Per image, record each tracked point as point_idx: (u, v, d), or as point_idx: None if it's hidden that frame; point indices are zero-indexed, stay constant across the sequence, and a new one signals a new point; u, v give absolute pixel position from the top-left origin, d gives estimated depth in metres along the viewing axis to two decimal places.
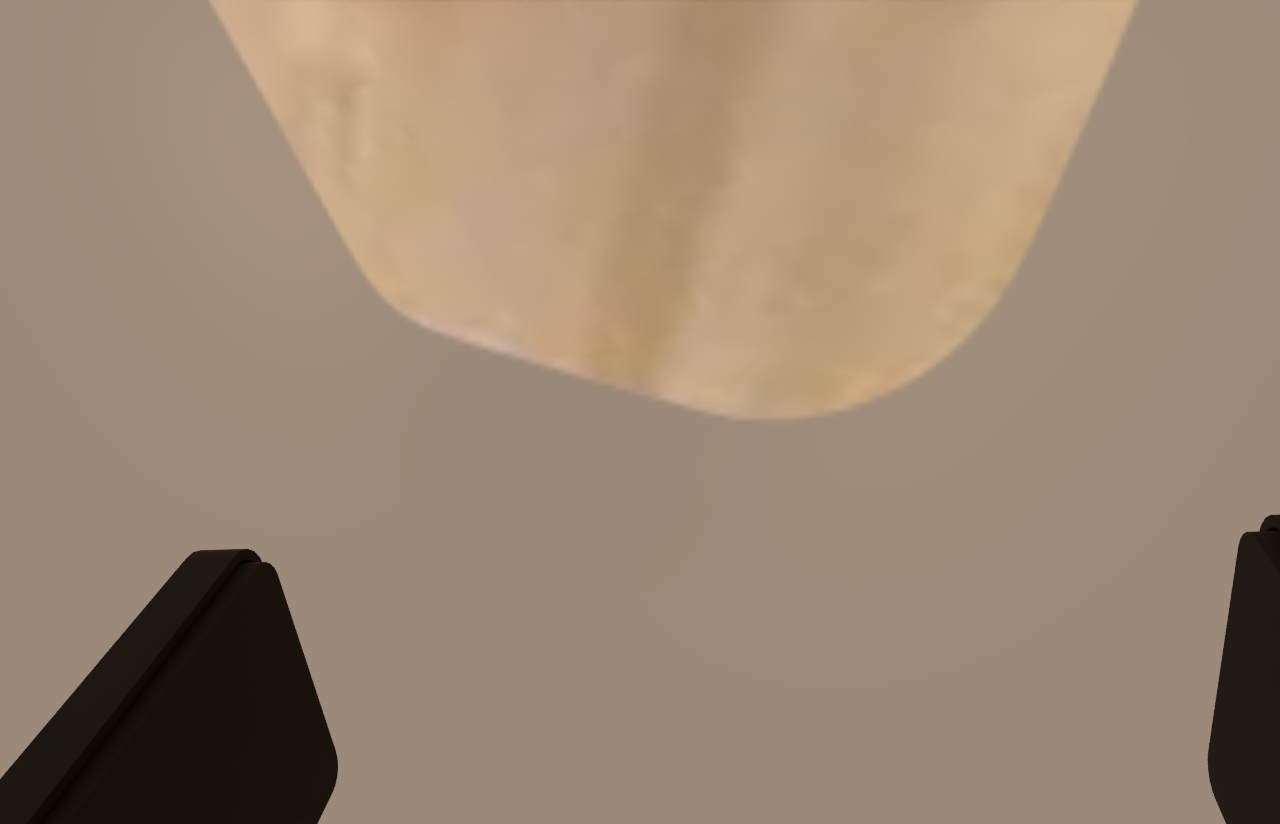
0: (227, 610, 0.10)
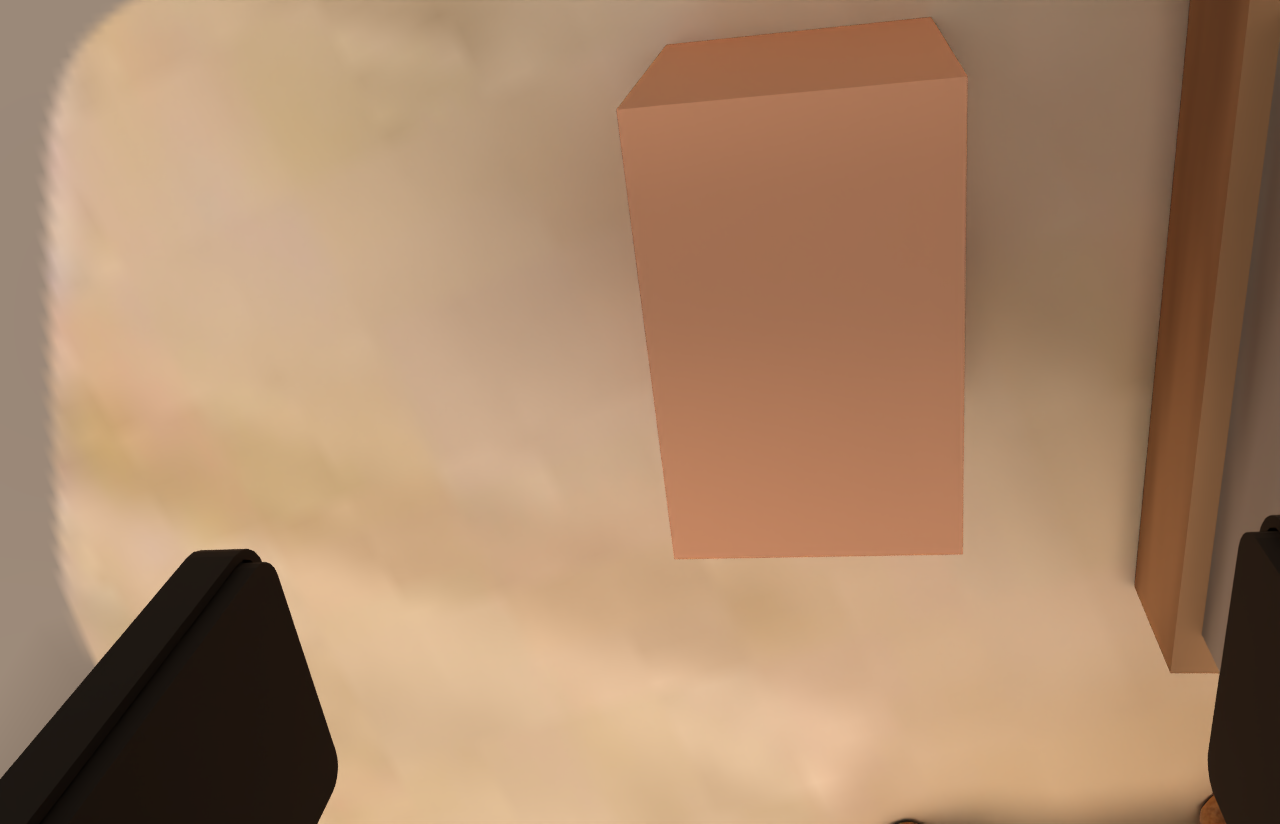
0: (227, 611, 0.10)
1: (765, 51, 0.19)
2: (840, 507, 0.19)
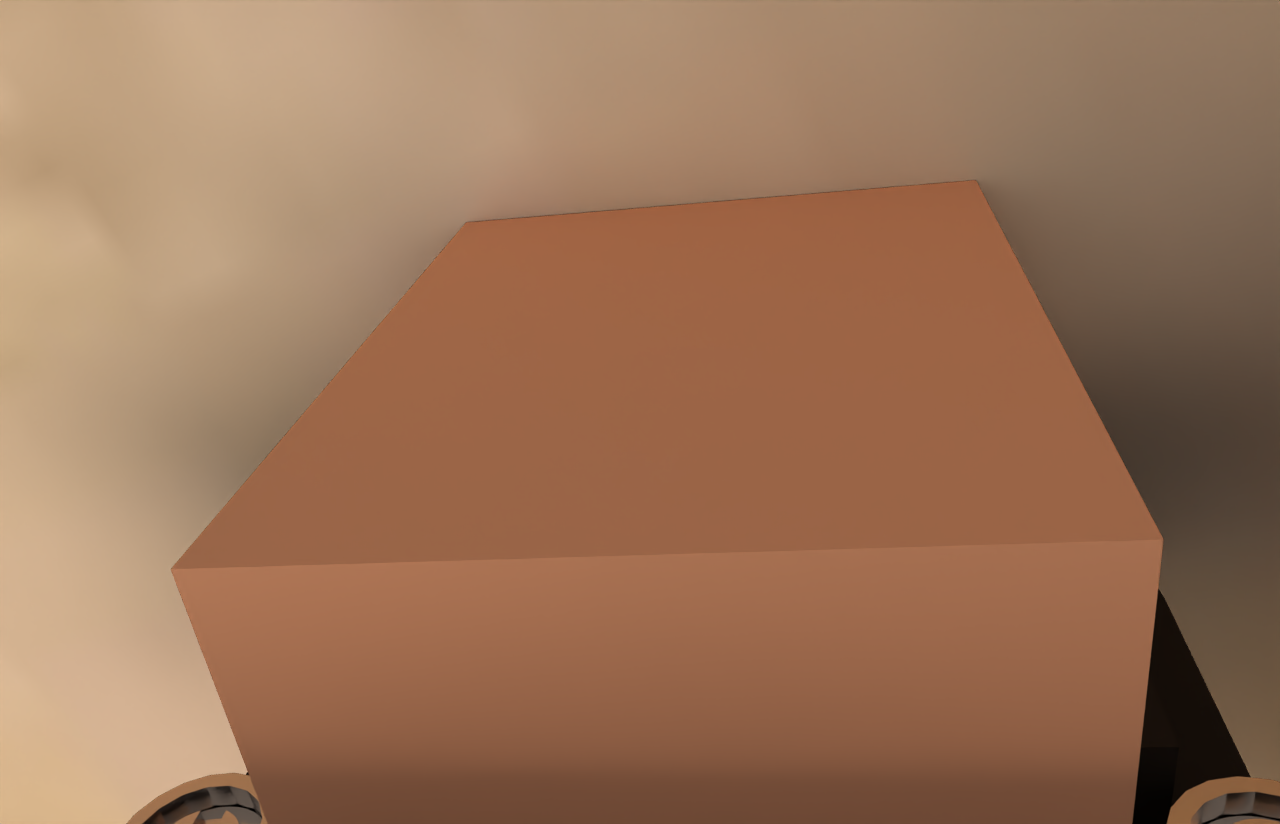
0: None
1: (634, 281, 0.09)
2: None
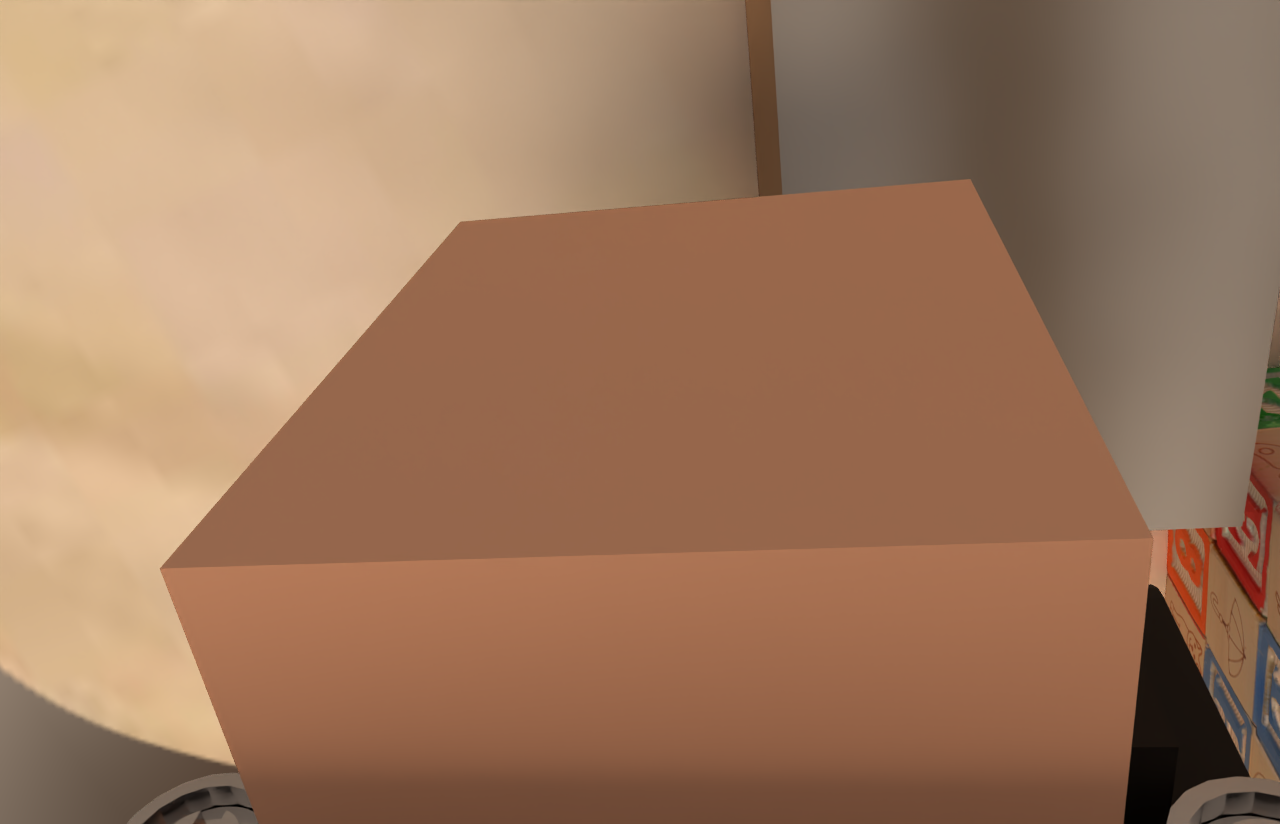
0: None
1: (628, 280, 0.09)
2: None
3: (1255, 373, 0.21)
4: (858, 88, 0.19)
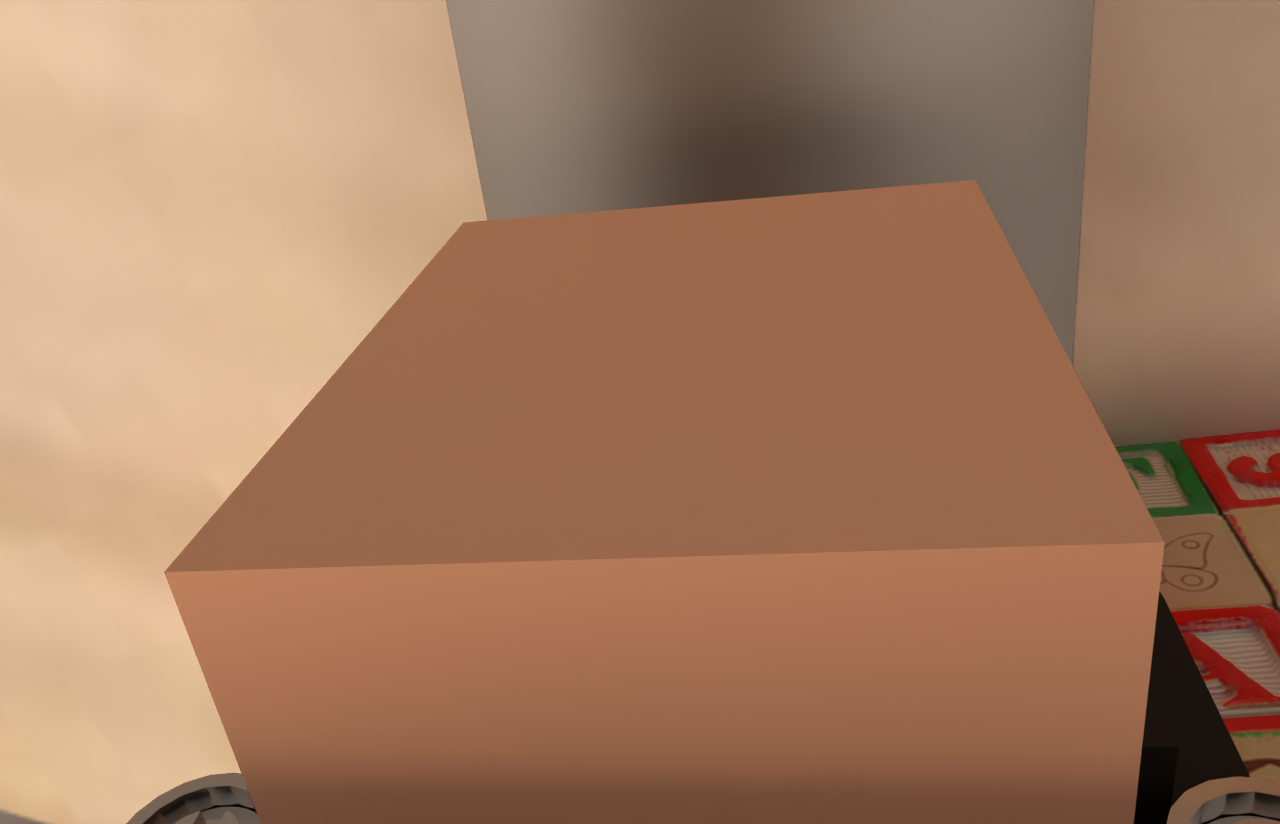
0: None
1: (632, 282, 0.09)
2: None
3: None
4: (562, 129, 0.17)
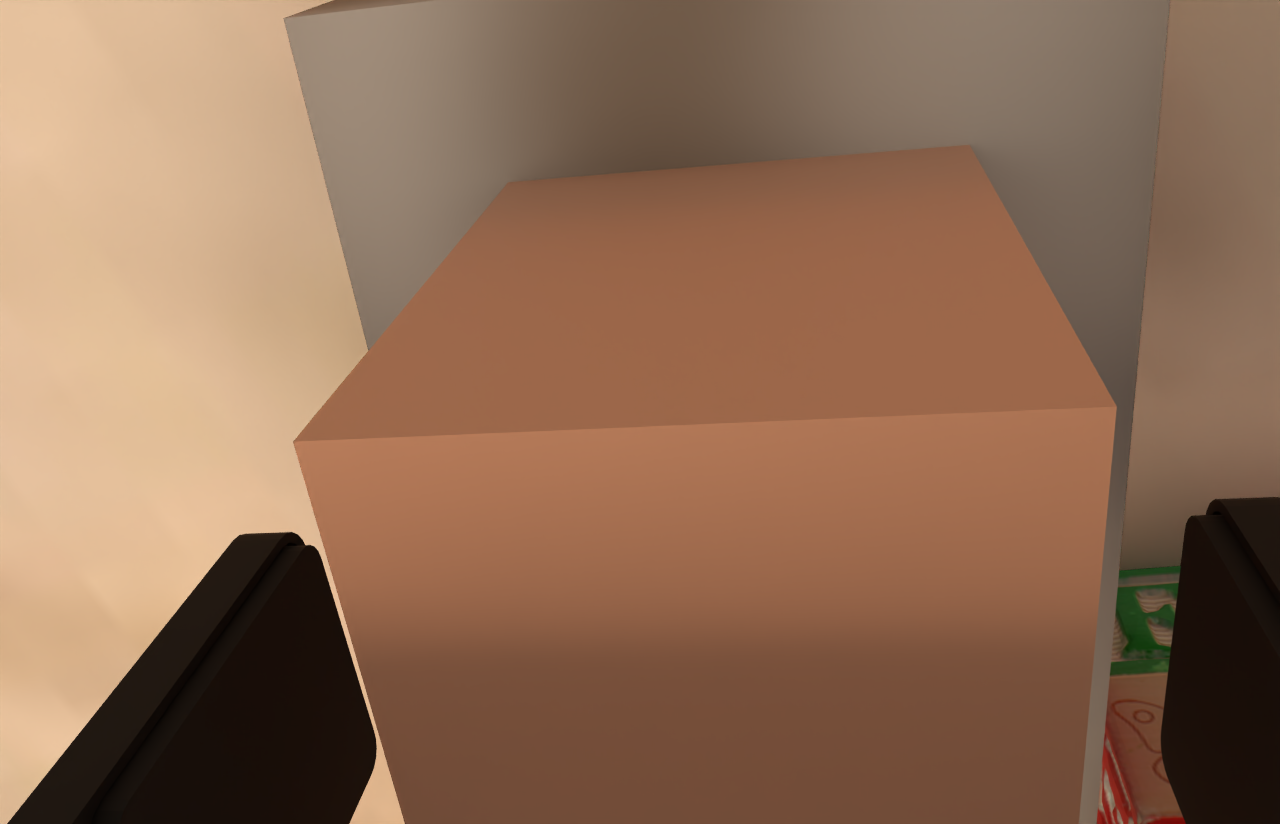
0: (275, 592, 0.10)
1: (666, 227, 0.10)
2: None
3: (1097, 631, 0.14)
4: (454, 216, 0.13)
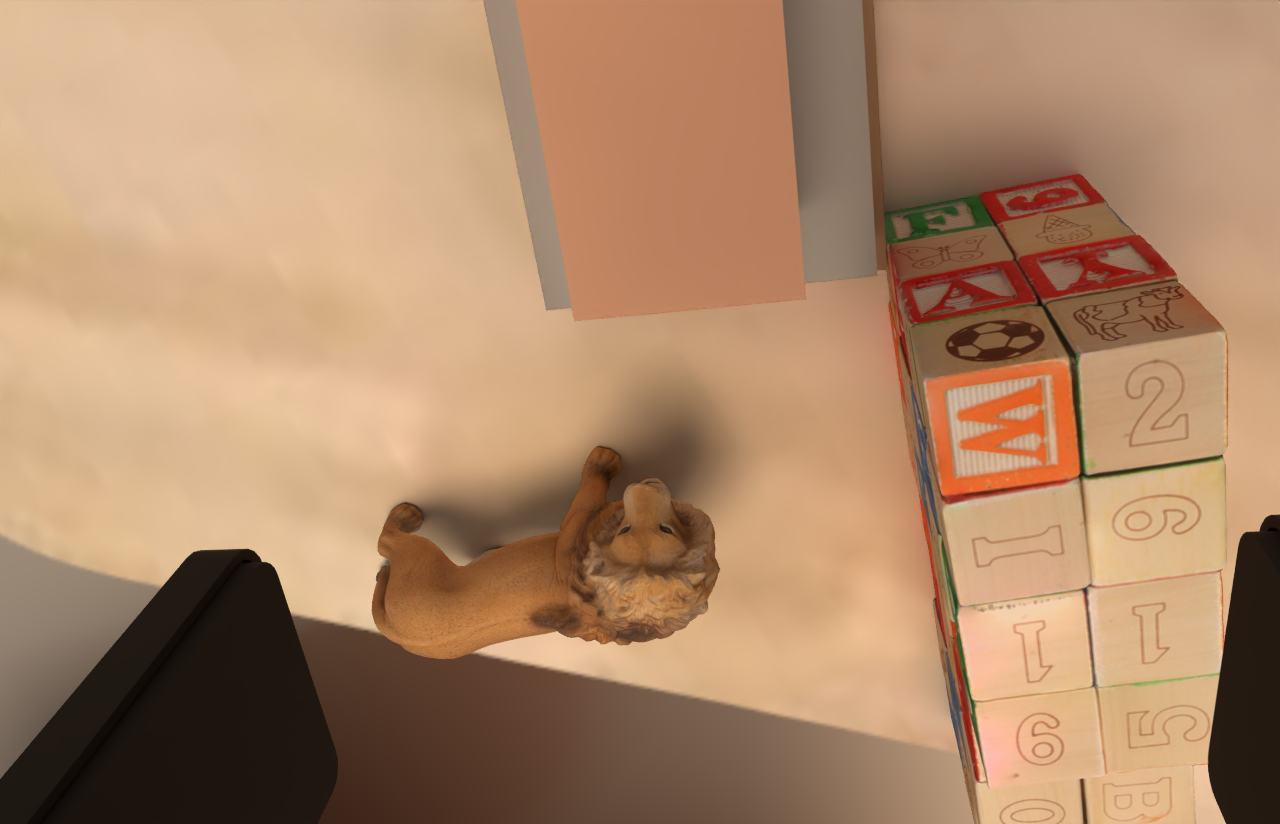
0: (227, 610, 0.10)
1: None
2: (704, 263, 0.23)
3: (861, 143, 0.27)
4: None
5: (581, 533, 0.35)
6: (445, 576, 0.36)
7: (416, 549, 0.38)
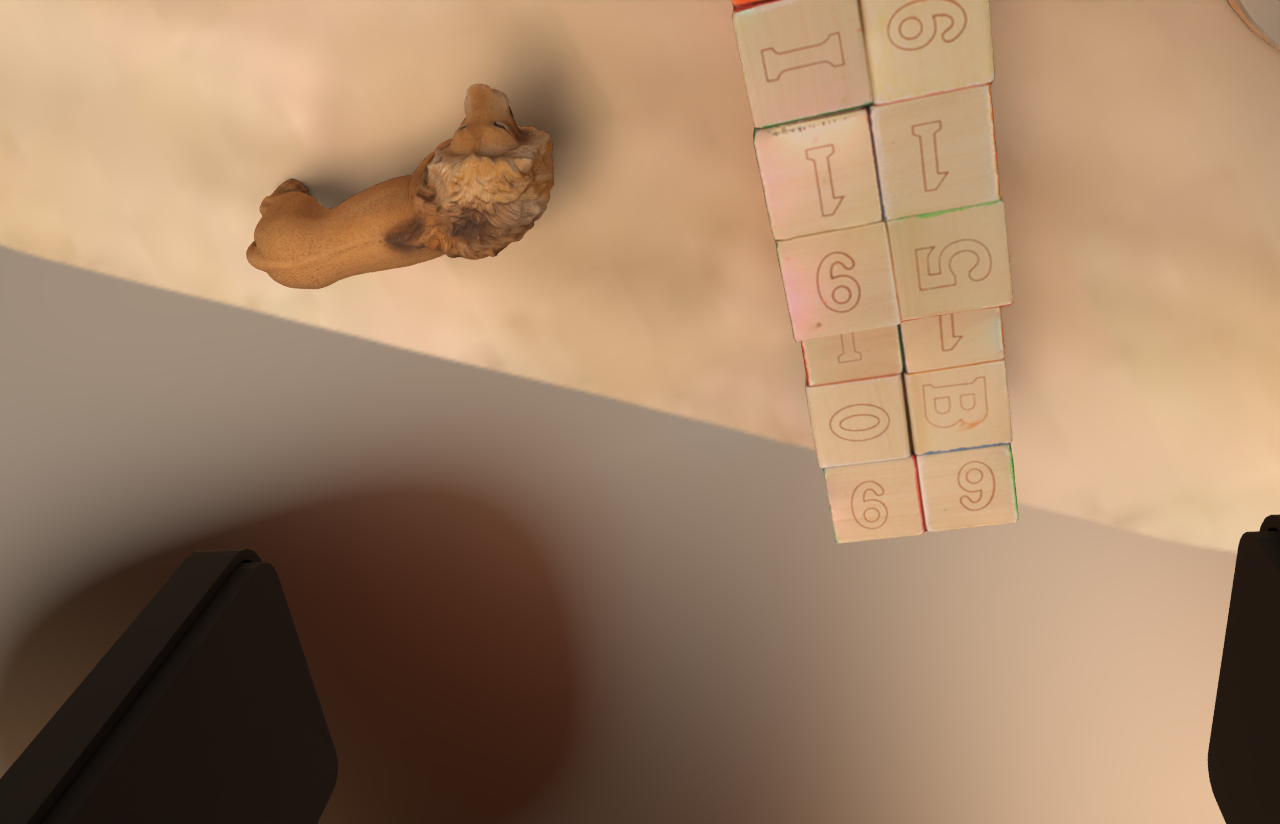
0: (227, 610, 0.10)
1: None
2: None
3: None
4: None
5: (432, 155, 0.37)
6: (311, 210, 0.39)
7: (289, 195, 0.40)
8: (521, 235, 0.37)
